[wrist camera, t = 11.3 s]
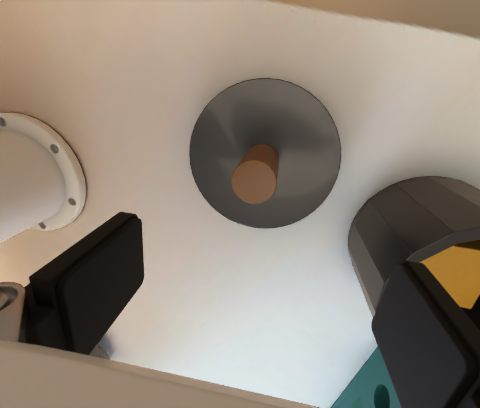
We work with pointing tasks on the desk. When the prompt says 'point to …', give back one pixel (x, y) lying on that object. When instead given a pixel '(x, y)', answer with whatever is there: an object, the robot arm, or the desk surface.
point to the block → (458, 271)
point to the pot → (412, 230)
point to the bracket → (370, 387)
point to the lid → (265, 153)
